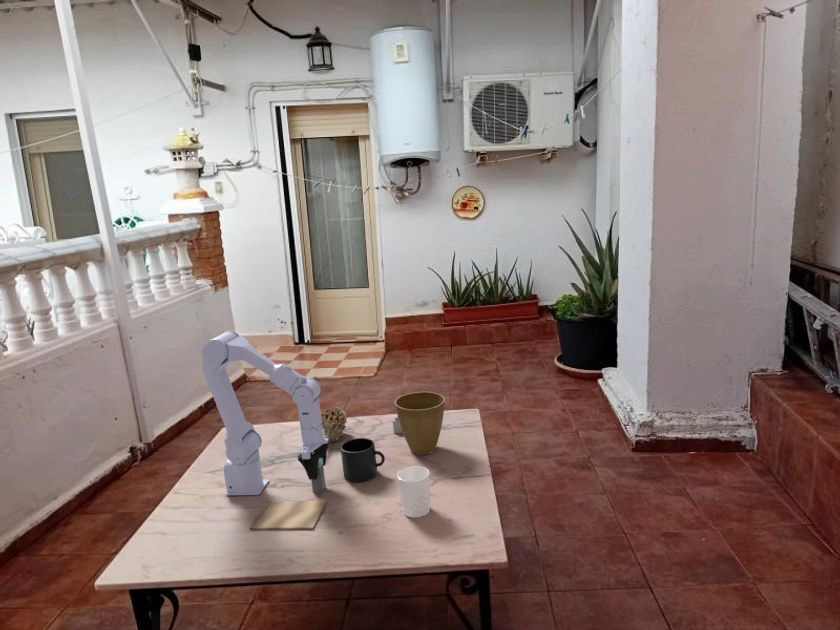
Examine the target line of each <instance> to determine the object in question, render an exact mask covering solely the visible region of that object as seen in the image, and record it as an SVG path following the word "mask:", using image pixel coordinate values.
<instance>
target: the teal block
mask: <svg viewBox="0 0 840 630" xmlns="http://www.w3.org/2000/svg"><path fill="white" fill-rule="evenodd" d="M310 481H311V487H312V493H323V492H324V491H325V489H326V487H327V486H326V485H327V484H326V477H325V468H324V466H323V458H319V462H318V478H317V479H314V480H310Z"/></svg>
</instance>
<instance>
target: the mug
mask: <svg viewBox="0 0 840 630" xmlns="http://www.w3.org/2000/svg"><path fill="white" fill-rule="evenodd" d="M340 454H341V463H342V464H341V465H342V471H343V478H344V479H345V480H346V481H348V482H351V483H363V482H368V481H370V480H372V479H374V478H375V477H376V476H377V474H378V467H382V465H383V464H385V461H386V458H385V455H384V454H383V453H382V452H381V451H379V450H376V445H375V442H374V441H373V439H371V438H366V437H358V438H353V439H349V440H347V441H345V442H343V443H342V444H341V445H340ZM376 455H379V456H380V458H381V461H380V462H377V457H376Z"/></svg>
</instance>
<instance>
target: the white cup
mask: <svg viewBox="0 0 840 630" xmlns="http://www.w3.org/2000/svg"><path fill="white" fill-rule="evenodd" d="M396 474H397V476H396V477H397V484H398V490H399V497H400V502H401V508H402V512H403V514H404V515H405V516H406V517H408V518H412V519H413V518H414V519H415V518H422V517H424V516H425V517H426V515H428V514H429V513H430V511H431V479H430V470H429V469H428V468H426V467H425V466H420V465H413V466H411V465H410V466H407V467H404V468H402V469H401V470H399V471H398V472H397V473H396Z"/></svg>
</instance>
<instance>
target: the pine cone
mask: <svg viewBox="0 0 840 630" xmlns="http://www.w3.org/2000/svg"><path fill="white" fill-rule="evenodd" d="M346 414H347V413H346V411H344V410H342V409H341V407H338V406H335V407H334V408H333V407H330V408H329V409H325V411H322V412H321V418H322V426H323V429H324V431H325V436H324V437H325V438H330V441H329V444H331V442H332V441H333V442H337V441H339V440H340V438H339V437H341V436H343V434H344V431H345V430H346V428H347V426H346V423H347V422H348V421H347V419H348V418H347V416H346Z"/></svg>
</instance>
